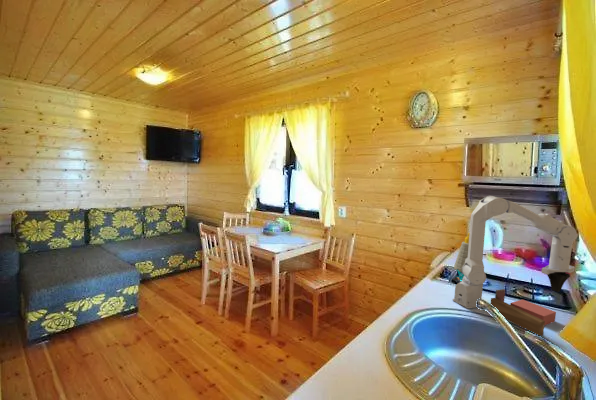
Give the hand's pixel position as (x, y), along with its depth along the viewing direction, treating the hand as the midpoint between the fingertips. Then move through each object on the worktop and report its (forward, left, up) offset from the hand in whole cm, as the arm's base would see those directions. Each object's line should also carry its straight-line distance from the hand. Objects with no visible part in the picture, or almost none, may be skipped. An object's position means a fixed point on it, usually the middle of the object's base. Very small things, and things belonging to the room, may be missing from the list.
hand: (555, 290), depth 114 cm
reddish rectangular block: (-11, 0, -9) cm, 14 cm away
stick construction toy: (-10, +34, -9) cm, 36 cm away
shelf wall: (-22, -1, -9) cm, 23 cm away
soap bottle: (+7, +48, -9) cm, 49 cm away
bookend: (-18, +7, -9) cm, 22 cm away
